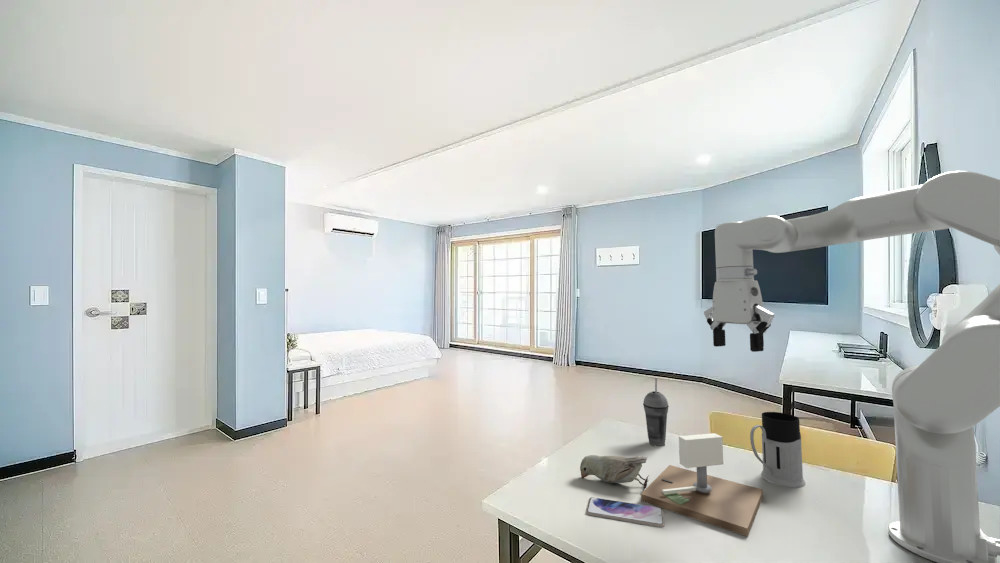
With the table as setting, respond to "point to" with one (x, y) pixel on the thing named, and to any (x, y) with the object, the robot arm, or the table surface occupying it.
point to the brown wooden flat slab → (706, 499)
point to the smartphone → (625, 512)
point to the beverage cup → (656, 417)
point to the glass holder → (780, 449)
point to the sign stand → (699, 458)
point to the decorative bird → (613, 468)
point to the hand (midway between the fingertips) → (737, 348)
